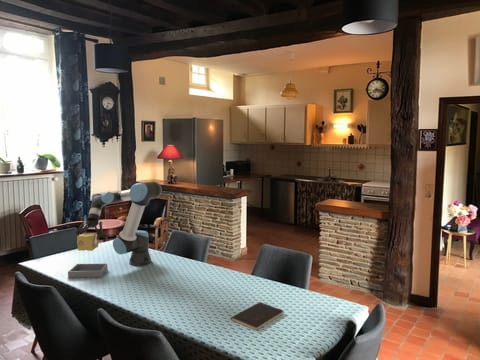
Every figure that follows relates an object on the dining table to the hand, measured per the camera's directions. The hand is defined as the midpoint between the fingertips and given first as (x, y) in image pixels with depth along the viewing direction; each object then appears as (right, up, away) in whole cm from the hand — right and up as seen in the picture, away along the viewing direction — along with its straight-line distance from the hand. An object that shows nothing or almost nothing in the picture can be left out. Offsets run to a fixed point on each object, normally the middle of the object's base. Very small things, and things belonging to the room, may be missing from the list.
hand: (86, 243), depth 249 cm
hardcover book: (+112, -27, -61) cm, 130 cm away
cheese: (0, -4, +3) cm, 5 cm away
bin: (+3, -19, -4) cm, 20 cm away
